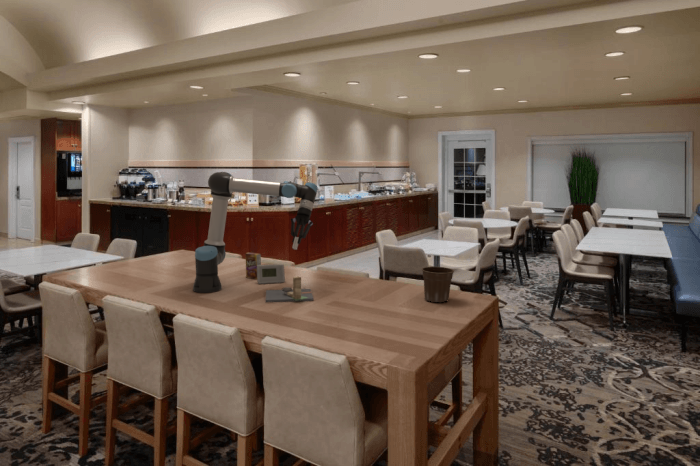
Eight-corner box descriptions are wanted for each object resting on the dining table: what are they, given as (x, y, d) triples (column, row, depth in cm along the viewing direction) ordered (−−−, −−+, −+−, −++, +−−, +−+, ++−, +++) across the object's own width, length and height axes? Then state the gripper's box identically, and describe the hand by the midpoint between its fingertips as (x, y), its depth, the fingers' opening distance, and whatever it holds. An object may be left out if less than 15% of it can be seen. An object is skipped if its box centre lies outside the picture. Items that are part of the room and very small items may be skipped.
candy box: (245, 277, 302) (245, 253, 299) (250, 276, 305) (249, 252, 303) (256, 279, 297) (256, 254, 295) (261, 278, 301) (261, 253, 299)
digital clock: (256, 284, 285) (255, 266, 283) (257, 281, 293) (257, 263, 292) (284, 284, 286) (284, 266, 285) (285, 280, 295) (285, 263, 293)
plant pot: (448, 296, 262) (450, 266, 260) (456, 304, 246) (457, 272, 244) (418, 296, 262) (419, 266, 260) (424, 304, 246) (424, 272, 244)
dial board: (265, 303, 245) (265, 297, 245) (266, 292, 267) (266, 286, 267) (314, 302, 249) (314, 296, 248) (310, 290, 271) (310, 285, 270)
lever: (280, 293, 259) (280, 273, 258) (289, 291, 262) (288, 271, 261) (294, 299, 247) (294, 278, 246) (302, 298, 250) (302, 277, 249)
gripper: (292, 205, 274) (280, 244, 267) (315, 208, 271) (304, 248, 263) (295, 210, 281) (285, 249, 274) (318, 213, 278) (307, 253, 270)
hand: (294, 248), depth 268 cm, fingers closed
